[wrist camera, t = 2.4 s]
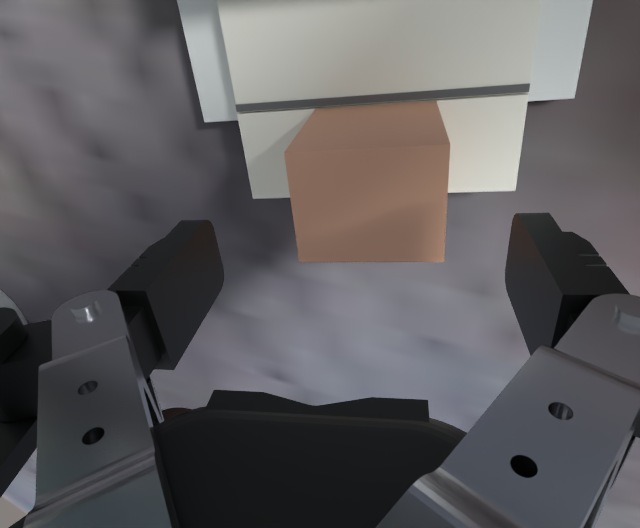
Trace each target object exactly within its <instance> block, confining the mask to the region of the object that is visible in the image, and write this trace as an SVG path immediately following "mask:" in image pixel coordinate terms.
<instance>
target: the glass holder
mask: <svg viewBox="0 0 640 528" xmlns="http://www.w3.org/2000/svg"><path fill="white" fill-rule="evenodd" d="M1 307H7V308H12V309H14V310H15V311H16V312H17V314H18V316H19V318H20V319H21V321H22V323H23V325H27V321H26V319H25V317H24V316H23V314H22V312H21V311H20V310H19V308H18V307H17V306H16V304H15V303H14V302H13V301H12V300H11V299H10V298H9V297H8V296H7V295H6V294H5V293H4V292H3V291H1V290H0V308H1Z"/></svg>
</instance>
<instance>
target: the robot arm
mask: <svg viewBox="0 0 640 528" xmlns="http://www.w3.org/2000/svg"><path fill="white" fill-rule="evenodd" d="M223 281H224V270H223V265H222V261H221V257H220V252H219V248H218V244H217V240H216V236H215V232H214V228H213V225H212V223H211V222H210V221H209V220H184V221H181V222H179V223H178V224H177V226H176V227H175V228H174V229H173V230H172V231H171V232H170V233H169V234H168V235H167V236H166V237H165V238H163V239H161V240H160V241H158V242H156V243H155V244H153V245H151V246H149V247H148V248H147V249H146V250H145V251H144V253H143V254H142V255H141V256H140V257H139V259H137V260H136V261H135V262H134V263H133V264H132V265H131V267H129V268H128V269H127V270H126V271H125V272H124V273H123V274H122V275H121V276H120V277H119V278H118V279H117V280H116V281H115V282H114V283H113V284H112V285H111V286H110V287H109V289H108V290H98V291H92V292H87V293H84V294H81V295H78V296H76V297H74V298H72V299H70V300H68V301H66V302H65V303H63V304H62V305H61V306H60V307H58V308H57V309H56V311H55V312H54V313H53V315H52V320H48V321H43V322H37V323H32V324H27V325H23V323H22V321H21V319H20V318H19V316H18V314H17V312H16V311H15V310H14V309H12V308H7V307H1V308H0V497H1V496H2V495H3V493H4V492H5V491H6V489H7V488H8V486H9V485H10V484H11V482H12V481H13V479H14V478H15V477H16V475H17V474H18V473H19V471H20V470H21V468H22V467H23V466H24V464H25V463H26V462H27V460H28V459H29V457H30V456H31V455H32V453H33V452H34V451H35V449H36V448H37V457H36V498H35V505H34V508H33V509H32V510H31V511H30V512H29V513H28V514H27V515H26V516H25V517H23V518H22V519H20V520H19V521H18V522H16V523H15V524H13V525H12V526H10V527H9V528H594V527H595V525H596V522H597V520H598V518H599V516H600V513H601V511H602V509H603V507H604V505H605V503H606V500H607V498H608V496H609V494H610V492H611V490H612V488H613V486H614V484H615V482H616V480H617V478H618V475H619V473H620V471H621V469H622V467H623V465H624V463H625V461H626V459H627V457H628V455H629V452H630V450H631V448H632V446H633V444H634V442H635V440H636V438H637V437H639V438H640V297H639V296H635V295H630V294H629V292H628V291H627V290H626V289H625V287H624V286H623V285H622V283H621V282H620V281H619V280H618V278H617V277H616V276H615V274H614V273H613V272H612V270H611V269H610V268H609V267H607V266H606V263H605V261H604V260H603V259H602V258H601V256H599V254H598V252H597V251H596V250H595V249H594V247H593V246H592V245H591V243H590V242H589V241H587V240H585V239H583V238H582V237H580V236H578V235H577V234H575V233H573V232H562V231H561V229H560V228H559V226H558V225H557V223H556V222H555V220H554V219H553V218H552V216H551V215H550V214H549V213H516V214H515V215H514V217H513V221H512V226H511V233H510V240H509V247H508V254H507V261H506V269H505V283H506V289H507V293H508V296H509V298H510V301H511V304H512V306H513V309H514V312H515V315H516V317H517V320H518V323H519V325H520V328H521V331H522V333H523V336H524V339H525V342H526V344H527V347H528V350H529V352H530V355H531V357H530V358H529V359H528V360H527V362H526V363H525V364H524V365H523V367H522V368H521V369H520V370H519V371H518V373H517V374H516V375H515V376H514V377H513V379H512V380H511V381H510V382H509V383H508V385H507V386H506V387H505V388H504V390H503V391H502V392H501V393H500V394H499V396H498V397H497V398H496V399H495V400H494V402H493V403H492V404H491V405H490V406H489V408H488V409H487V410H486V411H485V413H484V414H483V415H482V416H481V417H480V419H479V420H478V421H477V422H476V423H475V425H474V426H473V427H472V428H471V429H470V431H469V432H468V433H466V432H464V431H462V430H460V429H458V428H456V427H454V426H452V425H449V424H447V423H444V422H442V421H439V420H435V419H432V418H429V410H428V400H416V399H395V398H374V397H371V398H365V399H358V400H352V401H345V402H339V403H333V404H326V405H320V406H312V405H307V404H304V403H300V402H296V401H293V400H289V399H286V398H282V397H279V396H275V395H271V394H268V393H264V392H248V391H227V390H214V391H213V393H212V395H211V398H210V400H209V402H208V404H207V406H206V407H200V408H197V409H193V410H189V411H186V412H183V413H181V414H178V415H176V416H173V417H171V418H169V419H167V420H165V421H164V418H163V414H162V411H161V408H160V404H159V401H158V398H157V394H156V391H155V388H154V385H153V382H152V380H151V377H150V374H151V373H152V371H153V369H164V370H174V369H175V367H176V365H177V364H178V362H179V360H180V359H181V357H182V355H183V354H184V352H185V350H186V348H187V347H188V345H189V343H190V342H191V340H192V338H193V337H194V335H195V333H196V332H197V330H198V328H199V326H200V325H201V323H202V321H203V320H204V318H205V316H206V315H207V313H208V311H209V309H210V308H211V306H212V304H213V303H214V301H215V299H216V298H217V296H218V294H219V292H220V291H221V289H222V286H223Z"/></svg>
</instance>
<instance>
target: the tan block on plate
mask: <svg viewBox="0 0 640 528" xmlns="http://www.w3.org/2000/svg"><path fill="white" fill-rule="evenodd" d="M528 96H529V95H528V94H527V93H518V94H503V95H489V96H474V97H459V98H445V99H430V100H415V101H401V102H386V103H371V104H357V105H342V106H327V107H313V108H298V109H283V110H269V111H254V112H239V113H238V114H237V117H238V122H239V127H240V133H241V138H242V143H243V149H244V154H245V159H246V165H247V170H248V175H249V181H250V186H251V191H252V197H253V199H264V198H290V199H291V207H292V214H293V221H294V228H295V235H296V242H297V249H298V256H299V262H444V251H445V233H446V215H447V197H448V193H459V192H491V191H515V190H516V183H517V175H518V168H519V161H520V154H521V146H522V139H523V132H524V125H525V118H526V110H527V103H528Z"/></svg>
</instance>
